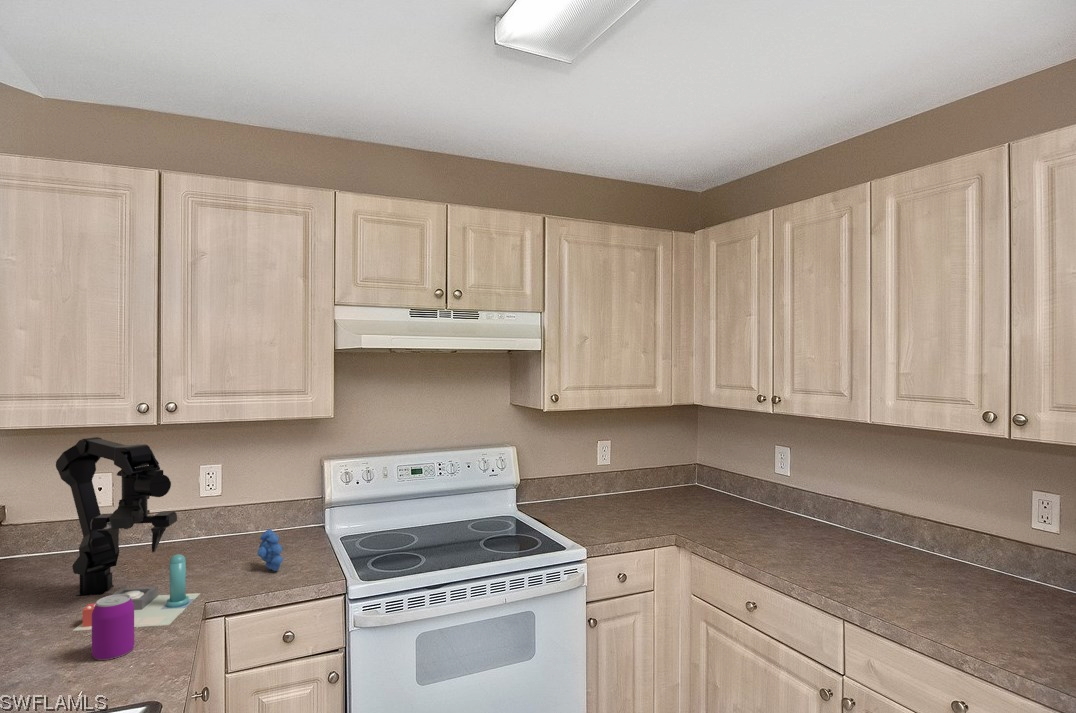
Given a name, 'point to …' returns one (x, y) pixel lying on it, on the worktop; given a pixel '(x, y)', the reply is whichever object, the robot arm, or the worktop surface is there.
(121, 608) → the beverage can
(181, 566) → the teal dildo
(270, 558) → the grapes
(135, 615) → the board
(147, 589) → the tray
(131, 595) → the dome
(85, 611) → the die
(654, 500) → the worktop surface
